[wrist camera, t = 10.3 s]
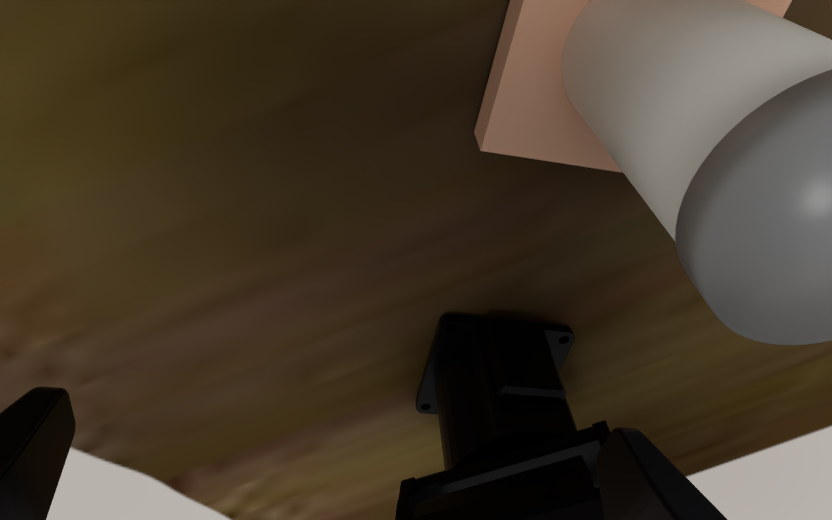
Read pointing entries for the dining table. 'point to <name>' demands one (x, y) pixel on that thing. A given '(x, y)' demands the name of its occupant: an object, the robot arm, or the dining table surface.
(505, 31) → the tile
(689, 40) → the plug
